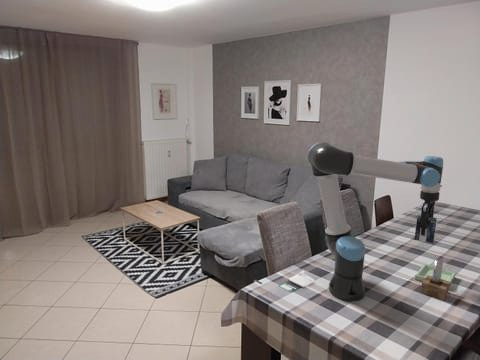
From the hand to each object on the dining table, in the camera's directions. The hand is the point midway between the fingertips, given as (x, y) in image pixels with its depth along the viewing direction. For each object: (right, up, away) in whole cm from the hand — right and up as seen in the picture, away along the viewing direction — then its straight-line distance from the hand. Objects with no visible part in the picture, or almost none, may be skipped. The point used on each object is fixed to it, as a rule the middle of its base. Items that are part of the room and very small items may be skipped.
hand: (424, 239), depth 160 cm
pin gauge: (0, -22, -8) cm, 24 cm away
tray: (+7, -19, +4) cm, 21 cm away
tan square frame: (0, -22, -8) cm, 23 cm away
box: (0, -1, 0) cm, 1 cm away
